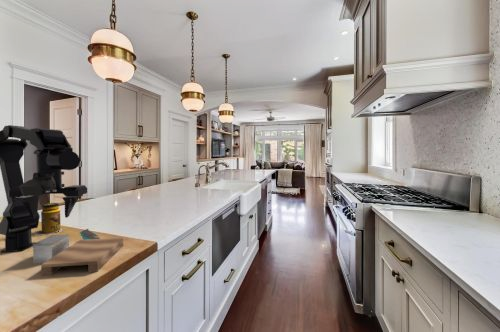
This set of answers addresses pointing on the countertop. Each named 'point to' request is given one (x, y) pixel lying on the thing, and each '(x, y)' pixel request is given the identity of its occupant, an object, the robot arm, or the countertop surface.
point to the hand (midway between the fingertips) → (50, 217)
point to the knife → (88, 235)
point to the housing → (50, 247)
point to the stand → (84, 255)
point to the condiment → (50, 219)
